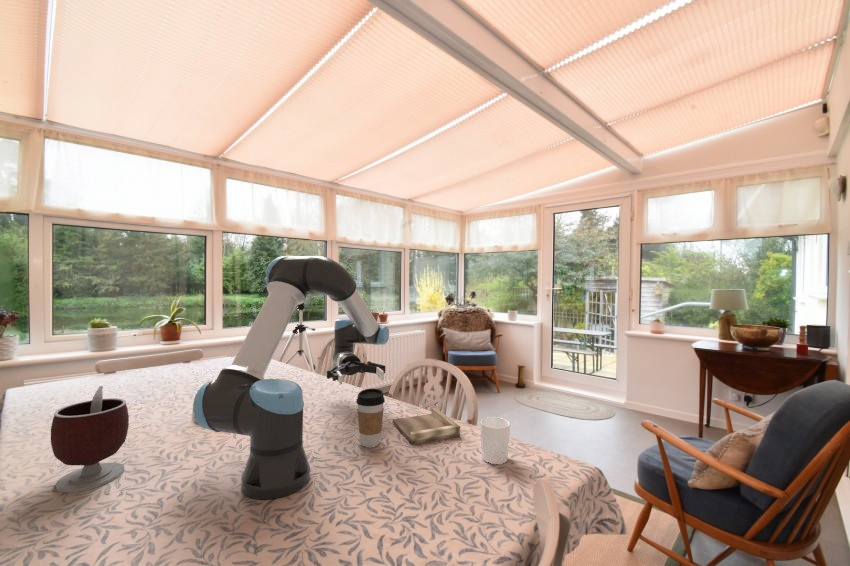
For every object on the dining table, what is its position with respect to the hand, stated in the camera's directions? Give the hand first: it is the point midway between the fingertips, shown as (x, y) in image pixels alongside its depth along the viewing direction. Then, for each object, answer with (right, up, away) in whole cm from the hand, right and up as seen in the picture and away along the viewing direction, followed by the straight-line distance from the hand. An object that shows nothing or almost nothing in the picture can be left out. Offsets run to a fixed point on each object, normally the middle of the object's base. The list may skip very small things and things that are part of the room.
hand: (362, 377), depth 120 cm
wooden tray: (+20, -17, 0) cm, 26 cm away
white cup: (+39, -18, -19) cm, 47 cm away
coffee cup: (+4, -17, -10) cm, 20 cm away
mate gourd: (-60, -16, -30) cm, 69 cm away
